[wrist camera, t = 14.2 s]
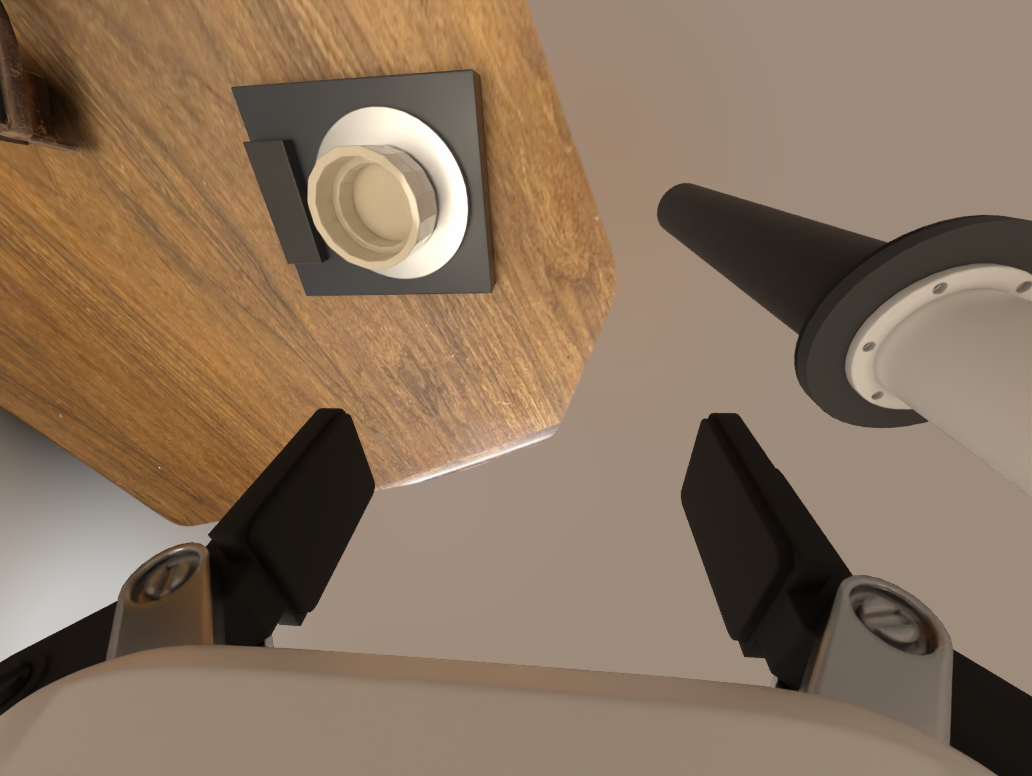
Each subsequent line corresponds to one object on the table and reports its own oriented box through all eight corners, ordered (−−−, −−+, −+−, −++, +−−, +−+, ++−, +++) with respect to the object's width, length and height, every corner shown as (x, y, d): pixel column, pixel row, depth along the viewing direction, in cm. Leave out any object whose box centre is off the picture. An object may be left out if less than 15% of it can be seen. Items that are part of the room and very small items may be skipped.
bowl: (429, 142, 24) (406, 142, 21) (445, 250, 28) (427, 267, 24) (330, 147, 25) (290, 149, 21) (358, 253, 29) (328, 270, 25)
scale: (480, 75, 25) (469, 65, 22) (495, 283, 33) (489, 298, 29) (255, 91, 26) (216, 84, 23) (321, 286, 34) (298, 301, 31)
